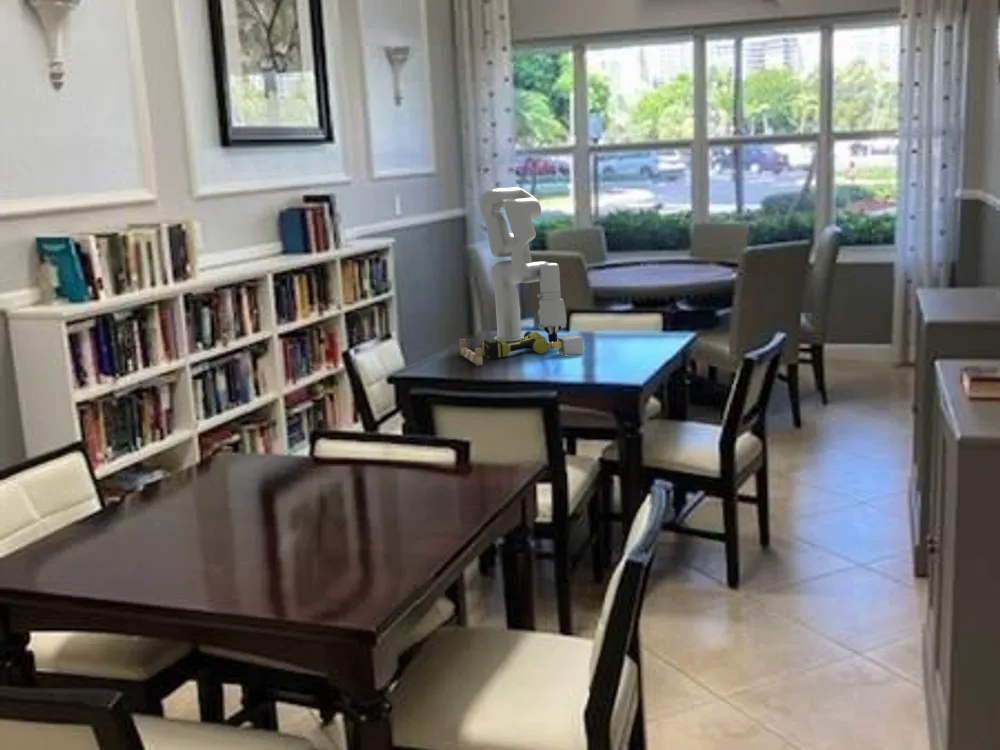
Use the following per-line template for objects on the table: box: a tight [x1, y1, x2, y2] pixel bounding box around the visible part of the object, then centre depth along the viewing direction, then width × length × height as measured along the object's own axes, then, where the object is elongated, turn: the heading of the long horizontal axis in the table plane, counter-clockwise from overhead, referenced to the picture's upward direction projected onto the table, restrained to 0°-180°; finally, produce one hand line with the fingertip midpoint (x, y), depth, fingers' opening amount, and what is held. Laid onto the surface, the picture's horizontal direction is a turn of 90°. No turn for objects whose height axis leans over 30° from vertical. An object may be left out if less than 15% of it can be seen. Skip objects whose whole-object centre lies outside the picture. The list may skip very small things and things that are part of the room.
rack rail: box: [459, 338, 484, 367], centre depth 382 cm, size 24×2×6 cm, turn 16°
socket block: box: [557, 334, 584, 356], centre depth 382 cm, size 7×7×6 cm
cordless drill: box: [480, 330, 551, 361], centre depth 394 cm, size 7×25×25 cm
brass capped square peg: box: [549, 340, 563, 350], centre depth 382 cm, size 3×10×3 cm, turn 106°
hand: (553, 343), depth 399 cm, fingers closed
